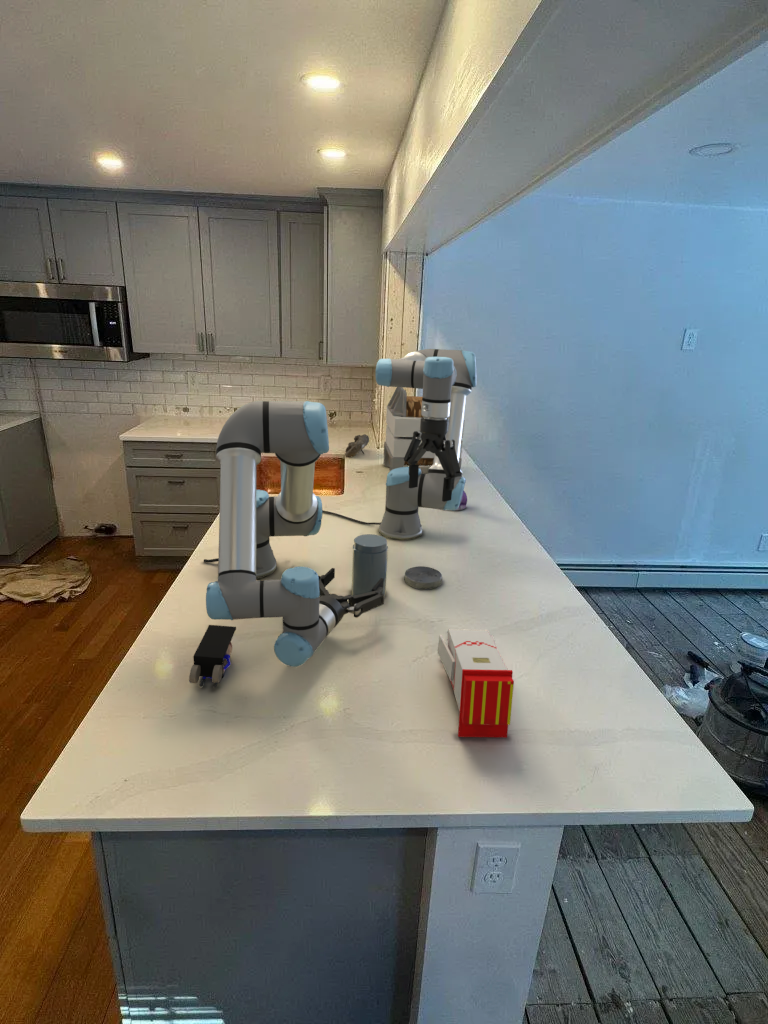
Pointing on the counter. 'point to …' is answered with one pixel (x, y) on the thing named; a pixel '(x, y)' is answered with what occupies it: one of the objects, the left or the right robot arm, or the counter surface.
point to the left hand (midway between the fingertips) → (357, 577)
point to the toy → (478, 682)
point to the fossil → (357, 445)
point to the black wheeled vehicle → (212, 654)
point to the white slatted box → (404, 430)
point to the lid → (423, 577)
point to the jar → (369, 563)
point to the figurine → (463, 501)
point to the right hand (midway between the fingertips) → (429, 493)
